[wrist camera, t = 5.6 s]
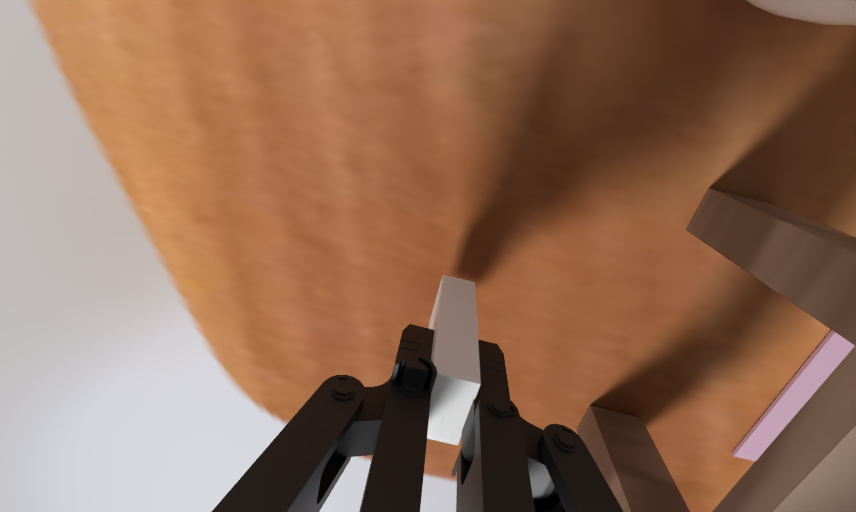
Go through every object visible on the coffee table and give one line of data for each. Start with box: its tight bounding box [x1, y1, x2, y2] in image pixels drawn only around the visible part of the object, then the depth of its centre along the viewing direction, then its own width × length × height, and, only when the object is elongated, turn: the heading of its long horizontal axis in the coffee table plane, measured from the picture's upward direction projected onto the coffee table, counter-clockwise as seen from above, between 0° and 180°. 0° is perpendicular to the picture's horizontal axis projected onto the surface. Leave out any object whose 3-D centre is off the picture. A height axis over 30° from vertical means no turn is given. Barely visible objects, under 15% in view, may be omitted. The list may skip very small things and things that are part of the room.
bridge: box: [577, 188, 856, 512], centre depth 16 cm, size 3×15×10 cm, turn 167°
